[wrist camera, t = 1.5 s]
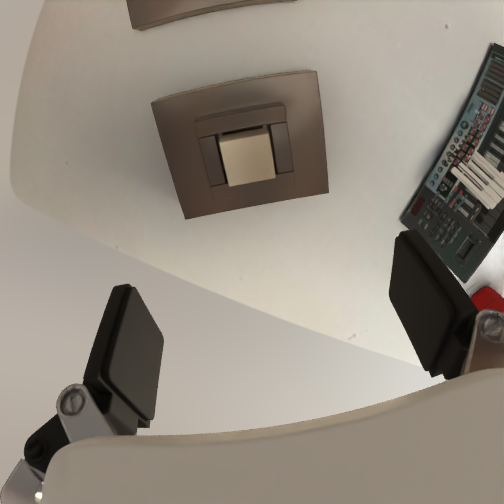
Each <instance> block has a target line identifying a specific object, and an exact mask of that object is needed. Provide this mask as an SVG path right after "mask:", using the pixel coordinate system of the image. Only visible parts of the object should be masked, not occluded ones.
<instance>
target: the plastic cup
mask: <svg viewBox="0 0 504 504" xmlns="http://www.w3.org/2000/svg"><path fill="white" fill-rule="evenodd" d="M471 300H472V302H473V303H474V305H475V306H476V308H477V309H478V311H479V312H480V311H482V310H484V309H496V310H498V311H501V312H502V313H503V314H504V298H503V297H502V296H501V295H500V294H498V293H497V292H496V291H495V290H494V289H492V288H491V287H484V288H482V289H480V290H479V291H478V292H476V293H475V294H474V295H473V296H472V298H471Z"/></svg>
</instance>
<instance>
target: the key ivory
mask: <svg viewBox="0 0 504 504" xmlns="http://www.w3.org/2000/svg"><path fill="white" fill-rule="evenodd" d="M219 145H220V149H221V154H222V158H223V162H224V167H225V171H226V175H227V180H228V184H229V186H235V185H241V184H246V183H251V182H256V181H262V180H267V179H273V178H276V174H275V168H274V162H273V156H272V149H271V143H270V137H269V133H268V131H267V129H266V128H261V129H255V130H249V131H244V132H239V133H234V134H229V135H224V136H220V141H219Z"/></svg>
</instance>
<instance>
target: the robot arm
mask: <svg viewBox="0 0 504 504" xmlns="http://www.w3.org/2000/svg"><path fill="white" fill-rule="evenodd" d="M389 298H390V301H391V303H392V305H393V307H394V308H395V310H396V312H397V314H398V316H399V318H400V320H401V322H402V324H403V326H404V328H405V330H406V332H407V334H408V337H409V339H410V341H411V343H412V345H413V347H414V349H415V351H416V353H417V356H418V358H419V360H420V362H421V364H422V366H423V368H424V370H425V371H429V373H430V375H431V377H435V376H438V375H440V374H443V376H444V378H445V379H446V381H445V382H442V383H440V384H437V385H434V386H431V387H429V388H426V389H423V390H420V391H417V392H414V393H411V394H408V395H404V396H401V397H398V398H395V399H392V400H389V401H386V402H382V403H379V404H375V405H372V406H368V407H365V408H361V409H357V410H353V411H349V412H345V413H340V414H336V415H331V416H327V417H322V418H318V419H313V420H308V421H302V422H297V423H292V424H285V425H279V426H273V427H266V428H259V429H250V430H241V431H233V432H221V433H208V434H192V435H162V436H161V435H158V436H137V434H136V433H137V428H150V420H153V419H154V414H155V405H156V397H157V388H158V380H159V373H160V366H161V358H162V351H163V344H164V339H163V335H162V333H161V331H160V330H159V328H158V326H157V324H156V323H155V321H154V319H153V318H152V316H151V314H150V312H149V311H148V309H147V307H146V305H145V303H144V302H143V300H142V298H141V296H140V294H139V293H138V291H137V289H136V288H135V287H132V286H131V285H130V284H124V285H118V286H115V287H114V288H113V290H112V292H111V295H110V298H109V300H108V303H107V306H106V309H105V311H104V314H103V317H102V320H101V323H100V326H99V329H98V332H97V335H96V338H95V341H94V344H93V347H92V350H91V353H90V357H89V360H88V363H87V367H86V370H85V374H84V377H83V379H84V380H83V384H72V385H69V386H68V387H66V388H65V389H64V390H63V391H62V392H61V393H60V395H59V397H58V399H57V404H56V408H57V414H56V415H55V416H54V417H53V418H51V419H50V420H49V421H48V422H47V423H45V424H44V425H43V426H42V427H41V428H40V429H38V430H37V431H36V432H35V433H34V434H32V435H31V436H30V437H29V438H28V440H27V442H26V444H25V447H24V456H25V460H23V459H21V460H20V461H19V463H18V464H17V466H16V467H15V469H14V470H13V472H12V473H11V475H10V476H9V478H8V480H7V481H6V483H5V484H4V486H3V487H2V490H1V492H0V500H1V503H2V504H504V314H503V313H502V312H501V311H498V310H496V309H484V310H482V311H480V312H479V311H478V309H477V308H476V306H475V305H474V303H473V302H472V300H471V299H470V297H469V296H468V295H467V293H466V292H465V290H464V289H463V288H462V286H461V285H460V283H459V282H458V281H457V279H456V278H455V277H454V275H453V274H452V273H451V271H450V270H449V269H448V267H447V266H446V265H445V264H444V263H443V262H442V260H441V259H440V258H439V256H438V255H437V254H436V253H435V251H434V250H433V249H432V248H431V246H430V245H429V244H428V243H427V242H426V240H425V239H424V238H423V237H422V236H421V234H420V233H419V232H418V231H417V230H416V229H411V230H406V231H401V232H400V234H399V236H397V237H396V239H395V247H394V256H393V265H392V273H391V280H390V287H389Z"/></svg>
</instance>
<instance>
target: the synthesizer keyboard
mask: <svg viewBox="0 0 504 504" xmlns="http://www.w3.org/2000/svg"><path fill="white" fill-rule="evenodd" d="M401 223H402V224H404V225H405V226H406V227H407V228H408V229H409V230H411V229H416V230H417V231H418V232H419V233H420V234H421V236H422V237H423V238H424V239H425V240H426V242H427V243H428V244H429V245H430V246H431V248H432V249H433V250H434V251H435V253H436V254H437V255H438V256H439V258H440V259H441V260H442V261H443V262H444V263H445V264H446V265H447V266H448V267H449V268H450V269H451V270H452V271H453V272H454V274H455V275H456V276H457V277H458V278H459V279H460V280H461V281H462V282H463V283H466V282H467V281H468V280H469V278H470V277H471V276H472V274H473V273H474V272H475V271H476V269H477V268H478V267H479V265H480V264H481V263H482V261H483V260H484V258H485V257H486V256H487V254H488V253H489V251H490V250H491V249H492V247H493V246H494V244H495V243H496V241H497V240H498V238H499V237H500V235H501V234H502V232H503V231H504V47H503V46H500V45H498V44H496V43H494V45H493V47H492V50H491V52H490V55H489V57H488V60H487V62H486V64H485V67H484V69H483V71H482V74H481V76H480V78H479V80H478V83H477V85H476V87H475V89H474V91H473V94H472V96H471V98H470V100H469V102H468V104H467V106H466V108H465V110H464V112H463V114H462V116H461V118H460V120H459V122H458V124H457V126H456V128H455V130H454V132H453V134H452V135H451V137H450V139H449V141H448V143H447V145H446V147H445V148H444V150H443V152H442V154H441V156H440V157H439V159H438V161H437V163H436V164H435V166H434V168H433V170H432V171H431V173H430V175H429V176H428V178H427V180H426V182H425V183H424V185H423V187H422V188H421V190H420V191H419V193H418V195H417V196H416V198H415V200H414V201H413V203H412V204H411V206H410V208H409V209H408V211H407V212H406V214H405V215H404V217H403V218H402V220H401Z"/></svg>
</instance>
